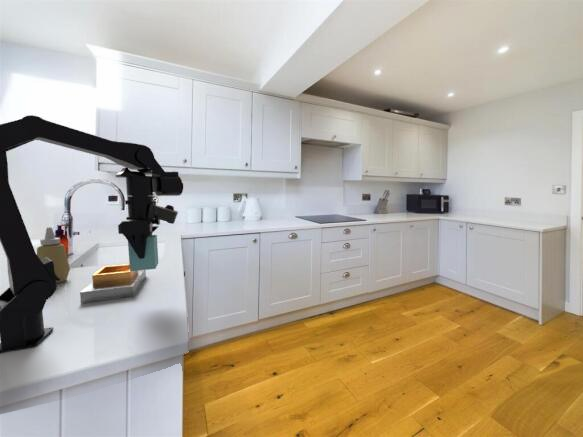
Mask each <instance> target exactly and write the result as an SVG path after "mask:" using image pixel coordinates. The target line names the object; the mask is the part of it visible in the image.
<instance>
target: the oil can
mask: <svg viewBox="0 0 583 437" xmlns="http://www.w3.org/2000/svg"><path fill="white" fill-rule="evenodd" d="M158 247H159V246H158V235H157V234H152V235H149V236H148V237H147V243H146V251H145V257H144V258H143V259H139V257H138V256H137V254H136V253H135V251H134V249H133V248H132V246H131V245H130V243H129V242H128V241H127V248H128V262H129V263H128V264H130V271H139V270H146V271H147V270H156V269H157V267H158V265H159V251H158V250H159V249H158Z"/></svg>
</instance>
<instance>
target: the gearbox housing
mask: <svg viewBox="0 0 583 437" xmlns="http://www.w3.org/2000/svg"><path fill="white" fill-rule="evenodd" d="M146 271H147V270H139V271H130V264H129V263H127V264H118V265H117V264H116V265H104V266H102V267H101V268H99V270H97V271H96V272H95V273H93V274H92V275H91V278H92V282H90V283H89V284H88V285H86V286H85V288H84V289H82V290H81V291H79V295H80V304H86V303H87V304H88V303H94V302H101V301H103V302H104V301H109V300H116V299H118V300H119V299H125V298H131V297H135V295H136V294H137V292H138V290H139V289H140V287H141V285H142V284H143V283H144V281H143V280H145V279H146V277H147V276H146V275H147V274H146V273H147V272H146ZM144 278H145V279H144Z"/></svg>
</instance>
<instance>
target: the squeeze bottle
mask: <svg viewBox="0 0 583 437" xmlns="http://www.w3.org/2000/svg"><path fill="white" fill-rule="evenodd" d="M36 255H37V256H38V257H39V259H42V258H45V257H47V258H48V259H50V260H51V261H53V264H54V271H55V274H56V276H57V277H58V278H59V279H60V280H59V281H56V280H55V281H56V284H60V283H63V282H65V281H67V280H68V276H69V273H70V271H71V268H70V263H69V260H68V255H67V250H66V245H64V244H62V243H61V238H60V237H56V235H55V233H54V230H53V227H49V226H48V227H46V230H45V235H44V238H42V239H40V245H39V246H38V247H37V248H36Z"/></svg>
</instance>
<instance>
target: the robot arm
mask: <svg viewBox="0 0 583 437" xmlns="http://www.w3.org/2000/svg"><path fill="white" fill-rule="evenodd" d="M33 141H41V142H44V143H49V144H53V145H56V146H58V147H59V146H60V147H63V148H68V149H71V150H75V151H79V152H82V153H86V154H90V155H94V156H99V157H101V158H105V159H108V160H110V161H112V162H113V163H114V164H117V165H119V166H121V167H122V168H121V170H120V171H119V172H118V173H117V174H115V177H116V178H124V179H125V183H126V184H125V186H126V196H127V198H126V200H124V202H125V203H124V205H127V216H126V219H125V220H123V221H121V222H120V223H119V224H118V225H117V229H118V232H117V233H118V234H119V235H122V236H124V237H125V239H126V240H127V243H128V242H129V243H130V245H131V246H132V248H133V249H134V251H135V253H136V254H137V256H138V257H139V259H143V258H144V257H145V251H146V243H147V237H148V236H149V235H153V233H154V232H155V231H156V230H157V229H158V228H159V226H160V225H161V221H163V222H167V223H168V224H173V225H174V223H175V222H176V219H177V216H178V213H179V211H177V210H175V207H174V205H171V204H167V205H165V207H164V206H160V205H157V200H155V199H154V193H155V194H156V196H158V197H165V196H166V197H168V196H169V197H170V196H172V197H173V196H174V197H175V196H181V195H182V193H183V190H184V183H183V180H182V178H181V177H180V176H179V171H165V170H164V169H163V167H162V166H161V165H160V163H159V162H158V161H157V159H156V158H155V154H154V152H153V151H152V149H151V148H150V147H149V146H147V145H144V144H139V143H133V142H127V141H126V142H125V141H117V140H110V139H108V138H103V137H101V136H97V135H95V134H91V133H88V132H85V131H82V130H78V129H75V128H72V127H69V126H65V125H62V124H59V123H56V122H52V121H50V120H46V119H44V118H42V117H40V116H37V115H33V114H32V115H25V116H23V117H22V118H19V119H18V120H17V119H15V120H12V121H9V122H5V123H1V124H0V244H1V247H2V249H3V251H4V254H5V257H6V262H7V276H8V283H9V287H8V288H7V289H5V291H3V292H2V293H1V294H0V353H3V352H2V351H4V352H8V350H10V351H14V350H15V351H16V350H22V349H26V348H27V349H28V348H34V347H37V346H38V345H39V344H40V343H42V342H43V340H44V339H46V337H48V335H49V334H51V333H52V332H53V331H54V326H51V327H45V323H44V315H43V311H44V310H43V309H44V308H45V305H46V302H47V300H49V299H50V298H51V297H52V296H53V295H54V294H55V293H56V292H57V289H58V283H56V281H59V280H60V279H59V278H58V277H57V276H56V274H55V271H54V264H53V261H51V260H50V259H48V258H47V257H45V258H42V259H39V257H38V256H37V252H36V251H35V248H34V245H33V242H32V239H31V238H30V236H29V233H28V229H27V227H26V225H25V222H24V219H23V216H22V214H21V212H20V208H19V206H18V204H17V201H16V199H15V196H14V193H13V190H12V188H11V185H10V182H9V166H8V164H9V163H8V155H7V152H9V151H12V150H14V149H16V148H19V147H22V146H24V145H26V144H29V143H31V142H33ZM154 225H155V226H154ZM55 280H56V281H55Z"/></svg>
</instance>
